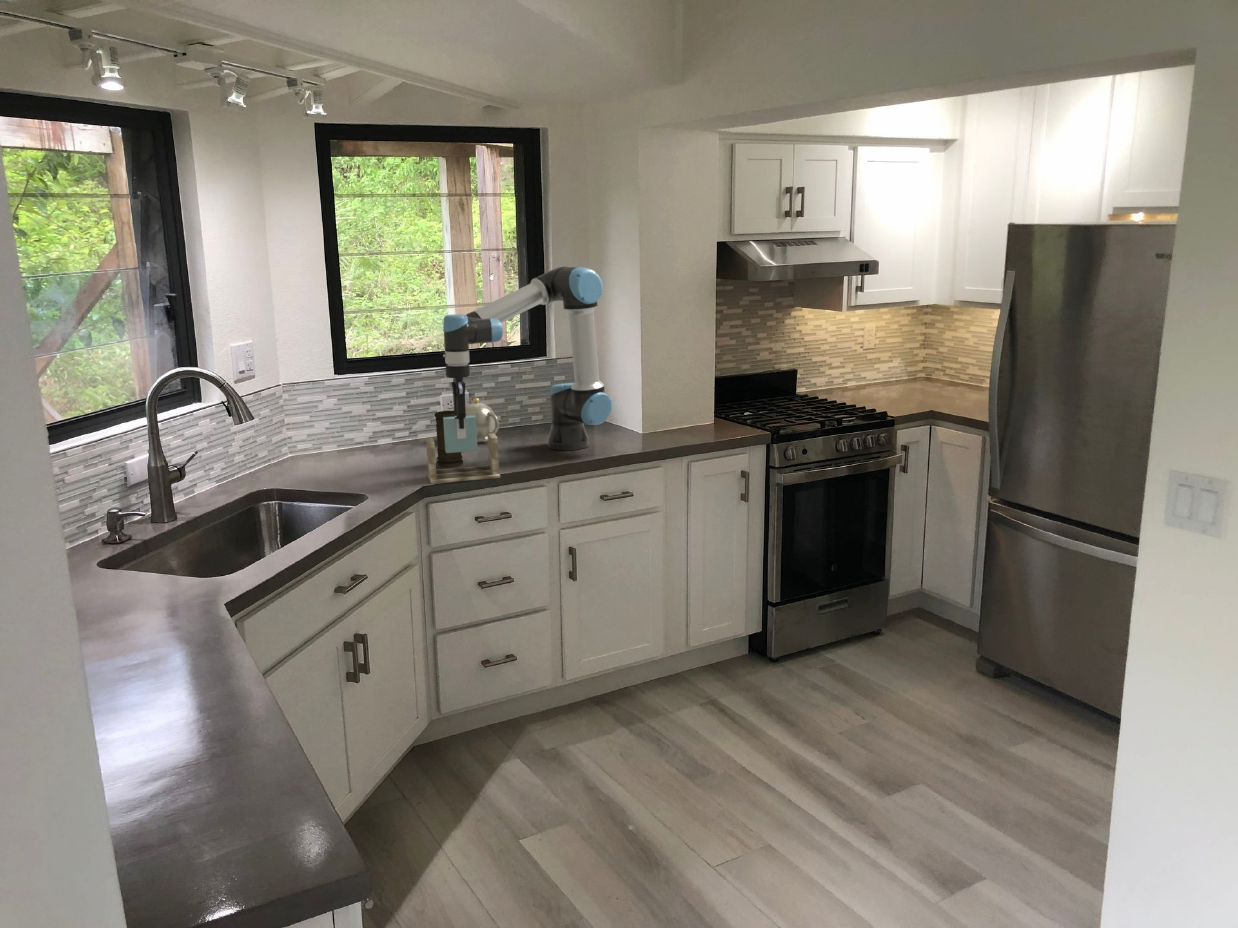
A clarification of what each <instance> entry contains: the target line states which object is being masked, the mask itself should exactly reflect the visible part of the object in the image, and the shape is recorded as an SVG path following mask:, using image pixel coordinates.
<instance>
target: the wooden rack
mask: <svg viewBox="0 0 1238 928" xmlns="http://www.w3.org/2000/svg"><path fill="white" fill-rule="evenodd" d="M498 440H499V439H498V437H497V435H496V434H494V433H488V441H487V445H488V446H487V447H488V461H489V462H488V463H489V464H488V465H481V466H479V465H478V466H468V467H467V466H466V467H465V466H464V467H452V468H442V469H441V468H440V469H437V459H436V446H435V444H436V443H435V441H434V438H433V437H426V438H425V446H426V460H427V461H426V462H427V463H426V464H427V477H428V479H429V482H430V484H442V483H454V482H456V483H457V482H466V481H478V480H488V479H489V480H490V479H491V480H492V479H499V478H501V474H500V467H499V466H500V465H499V461H500V460H499V441H498Z"/></svg>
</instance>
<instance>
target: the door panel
mask: <svg viewBox="0 0 1238 928" xmlns="http://www.w3.org/2000/svg"><path fill="white" fill-rule="evenodd" d="M455 417H457V416H455ZM455 417H443V421H444V439H445V451H446V453H454V452H461V453H468V452H478V451H479V450H478V443H477V426H476V416H475V415H471V416H466V417H465V425H466V438H462V439H457V421H456V419H455Z"/></svg>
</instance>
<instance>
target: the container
mask: <svg viewBox="0 0 1238 928" xmlns="http://www.w3.org/2000/svg"><path fill="white" fill-rule="evenodd" d="M454 413H455V412H454V410H440V411H437V412H435V413H434V417H435V429H436V430H435V431H436V443H437V449H436V451H437V457H436V466H438V468H439V467H440V468H459V467H461V466H462V465H464V460H463V458H464V457H463V456H462V455H463V454H462V452H454V453H446V451H445V439H444V421H443V417H455V416H456V415H455V414H454Z"/></svg>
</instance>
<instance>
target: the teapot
mask: <svg viewBox="0 0 1238 928" xmlns="http://www.w3.org/2000/svg"><path fill="white" fill-rule="evenodd" d="M465 408H466V416H471V415H475V416H476V426H477V444H481V443H486V442H487V443H488V433H494V434H495V435H496V434H497V432H498V431H499V428H500V427H499V426H500V422H499V418H498V416H497V415H496V414H495V412H494V411H493V409H492V408H491V407H490V406H489V405H488V404H485V403H483V402H480V399H479V398H478V397H475V398H474V399H473V402H471V403H469V404H467V405H465Z"/></svg>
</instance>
